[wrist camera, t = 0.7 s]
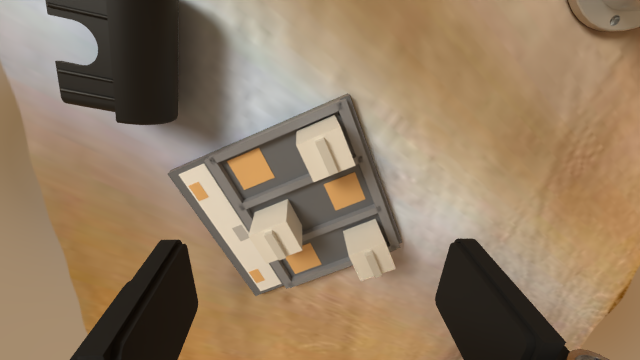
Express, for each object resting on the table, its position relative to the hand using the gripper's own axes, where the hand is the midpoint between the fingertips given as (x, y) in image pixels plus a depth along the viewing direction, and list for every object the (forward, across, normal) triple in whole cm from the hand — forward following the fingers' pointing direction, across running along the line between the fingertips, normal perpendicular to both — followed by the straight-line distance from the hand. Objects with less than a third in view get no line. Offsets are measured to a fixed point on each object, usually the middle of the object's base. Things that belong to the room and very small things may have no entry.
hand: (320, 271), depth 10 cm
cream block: (+20, -7, +13) cm, 24 cm away
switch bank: (+21, +1, +10) cm, 23 cm away
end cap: (+21, +14, -6) cm, 26 cm away
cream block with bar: (+20, -1, +1) cm, 20 cm away
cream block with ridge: (+20, +3, +10) cm, 22 cm away
